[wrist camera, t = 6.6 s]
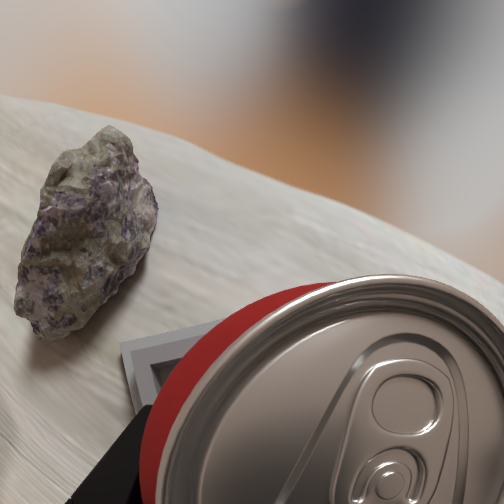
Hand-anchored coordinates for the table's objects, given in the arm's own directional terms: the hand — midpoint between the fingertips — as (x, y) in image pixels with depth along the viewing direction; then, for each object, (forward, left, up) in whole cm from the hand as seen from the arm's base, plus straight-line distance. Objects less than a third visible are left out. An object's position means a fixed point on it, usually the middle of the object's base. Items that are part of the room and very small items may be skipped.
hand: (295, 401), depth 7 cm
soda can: (-1, 0, -7) cm, 7 cm away
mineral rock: (+13, +9, -14) cm, 21 cm away
